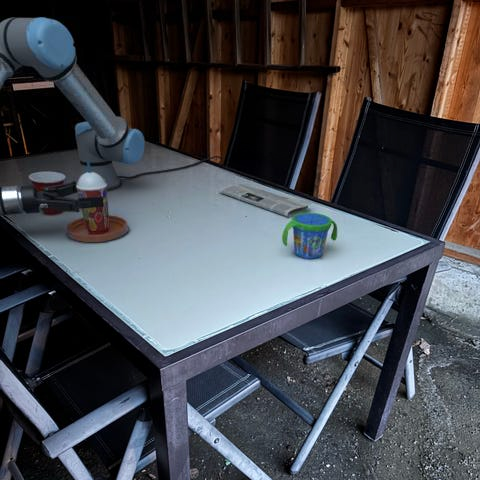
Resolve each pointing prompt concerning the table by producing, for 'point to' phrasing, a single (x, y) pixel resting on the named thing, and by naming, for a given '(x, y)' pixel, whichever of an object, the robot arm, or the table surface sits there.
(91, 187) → the smoothie
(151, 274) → the table surface
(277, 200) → the newspaper
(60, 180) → the plastic cup
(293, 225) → the snack cup
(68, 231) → the plate
